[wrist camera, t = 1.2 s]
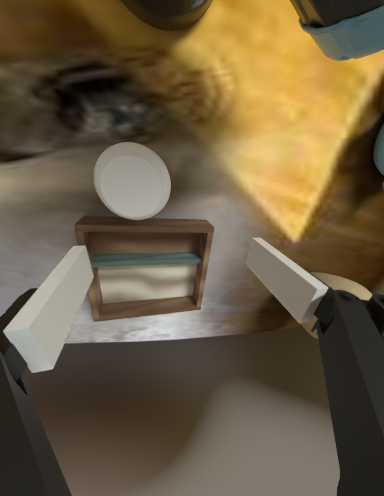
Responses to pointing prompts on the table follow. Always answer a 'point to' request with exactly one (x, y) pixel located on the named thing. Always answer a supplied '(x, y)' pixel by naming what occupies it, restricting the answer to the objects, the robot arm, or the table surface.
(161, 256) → the crate
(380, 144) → the teapot
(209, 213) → the table surface
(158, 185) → the pill bottle
